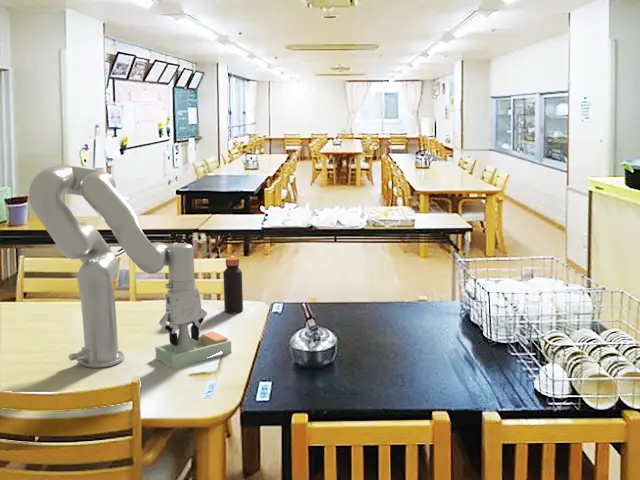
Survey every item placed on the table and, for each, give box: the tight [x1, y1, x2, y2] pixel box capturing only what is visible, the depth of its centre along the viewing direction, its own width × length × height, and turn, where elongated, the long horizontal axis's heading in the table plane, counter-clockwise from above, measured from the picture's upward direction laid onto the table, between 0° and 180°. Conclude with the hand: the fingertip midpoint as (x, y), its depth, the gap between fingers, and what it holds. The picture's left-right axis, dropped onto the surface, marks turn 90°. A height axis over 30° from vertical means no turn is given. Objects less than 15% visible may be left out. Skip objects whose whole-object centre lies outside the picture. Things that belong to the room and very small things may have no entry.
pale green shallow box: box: [155, 334, 232, 369], centre depth 210 cm, size 20×11×4 cm, turn 131°
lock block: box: [201, 330, 228, 346], centre depth 214 cm, size 4×8×3 cm, turn 41°
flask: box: [173, 323, 195, 355], centre depth 207 cm, size 7×7×10 cm
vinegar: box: [223, 256, 244, 314], centre depth 253 cm, size 7×7×20 cm
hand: (184, 341), depth 207 cm, fingers open, 6 cm apart
